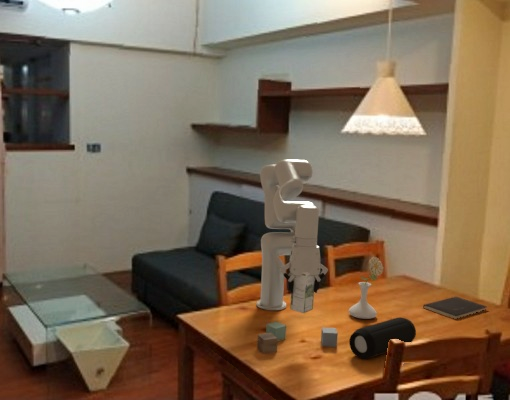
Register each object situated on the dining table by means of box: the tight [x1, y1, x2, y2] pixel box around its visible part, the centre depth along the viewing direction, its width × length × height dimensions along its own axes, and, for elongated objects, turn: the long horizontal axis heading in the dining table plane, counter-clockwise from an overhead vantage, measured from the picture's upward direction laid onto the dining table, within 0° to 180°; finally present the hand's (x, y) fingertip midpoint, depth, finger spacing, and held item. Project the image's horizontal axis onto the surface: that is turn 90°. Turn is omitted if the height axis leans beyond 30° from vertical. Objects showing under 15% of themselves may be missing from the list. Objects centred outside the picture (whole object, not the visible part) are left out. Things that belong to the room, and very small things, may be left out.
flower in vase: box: [348, 256, 384, 320], centre depth 215 cm, size 13×11×25 cm
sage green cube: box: [265, 321, 287, 342], centre depth 190 cm, size 5×5×5 cm
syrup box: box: [289, 272, 315, 314], centre depth 181 cm, size 6×6×14 cm
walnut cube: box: [256, 332, 278, 355], centre depth 180 cm, size 5×5×5 cm
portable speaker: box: [348, 317, 417, 359], centre depth 183 cm, size 26×10×10 cm, turn 127°
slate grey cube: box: [320, 327, 338, 348], centre depth 188 cm, size 5×5×5 cm
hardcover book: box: [422, 296, 488, 320], centre depth 231 cm, size 16×23×2 cm
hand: (302, 291), depth 182 cm, fingers closed on syrup box, 8 cm apart
